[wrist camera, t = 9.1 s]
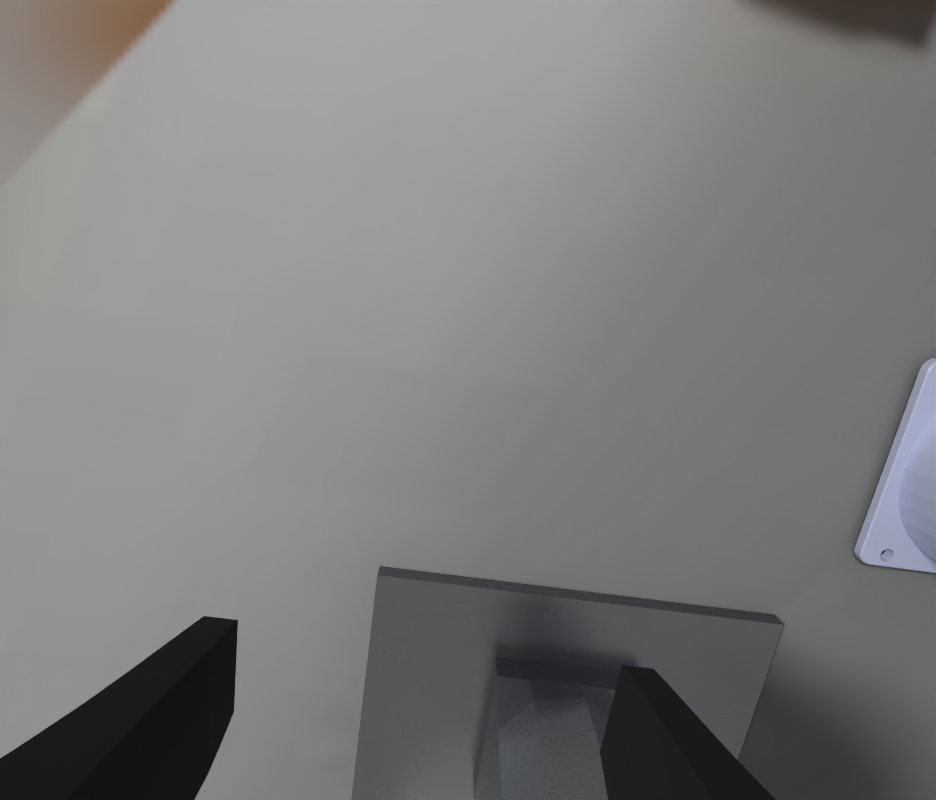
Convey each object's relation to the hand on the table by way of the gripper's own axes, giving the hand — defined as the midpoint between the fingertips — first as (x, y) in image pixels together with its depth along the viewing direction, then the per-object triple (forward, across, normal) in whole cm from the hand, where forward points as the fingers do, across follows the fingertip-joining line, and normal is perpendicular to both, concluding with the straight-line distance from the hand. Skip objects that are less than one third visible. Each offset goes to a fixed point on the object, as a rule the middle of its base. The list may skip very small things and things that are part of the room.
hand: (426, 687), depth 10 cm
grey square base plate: (+10, -6, +10) cm, 15 cm away
